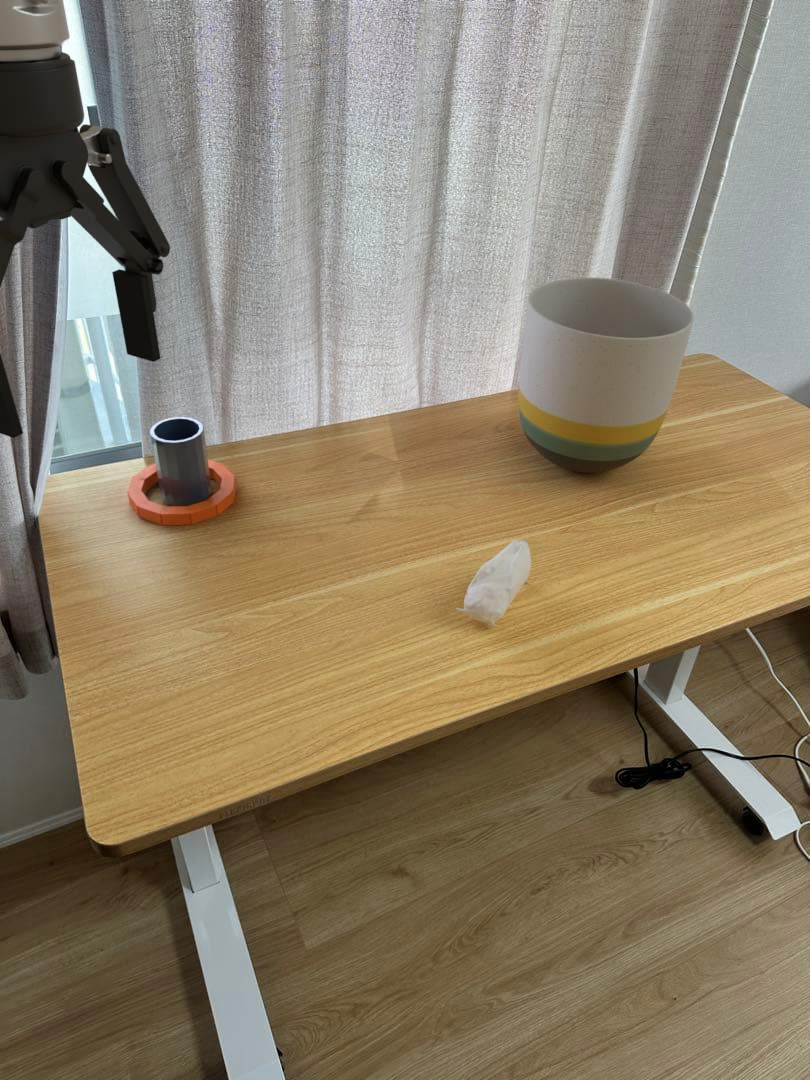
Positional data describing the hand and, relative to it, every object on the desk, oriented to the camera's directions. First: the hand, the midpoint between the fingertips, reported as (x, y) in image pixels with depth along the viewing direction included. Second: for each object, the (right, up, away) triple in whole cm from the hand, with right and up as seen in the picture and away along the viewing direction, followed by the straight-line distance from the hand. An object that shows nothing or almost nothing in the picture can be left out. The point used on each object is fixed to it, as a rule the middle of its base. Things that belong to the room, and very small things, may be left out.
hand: (79, 390), depth 58 cm
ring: (-3, -5, +40) cm, 41 cm away
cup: (-3, -5, +40) cm, 41 cm away
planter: (+47, 0, +51) cm, 69 cm away
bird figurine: (+33, -18, +27) cm, 46 cm away
